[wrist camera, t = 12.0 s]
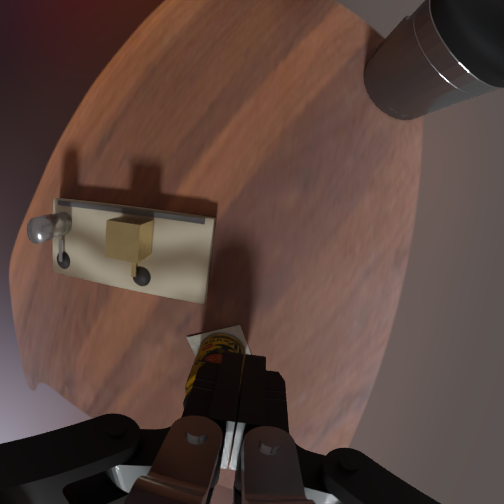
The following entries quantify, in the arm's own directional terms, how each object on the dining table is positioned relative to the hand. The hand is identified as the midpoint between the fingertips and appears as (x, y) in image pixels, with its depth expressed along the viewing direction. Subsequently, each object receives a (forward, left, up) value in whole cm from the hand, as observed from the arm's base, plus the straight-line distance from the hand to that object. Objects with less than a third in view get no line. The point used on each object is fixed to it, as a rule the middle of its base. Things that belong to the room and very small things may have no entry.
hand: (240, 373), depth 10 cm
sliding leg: (+2, -14, -23) cm, 27 cm away
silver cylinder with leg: (+3, -25, -23) cm, 34 cm away
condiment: (+16, -2, -25) cm, 30 cm away
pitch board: (+3, -16, -25) cm, 30 cm away
